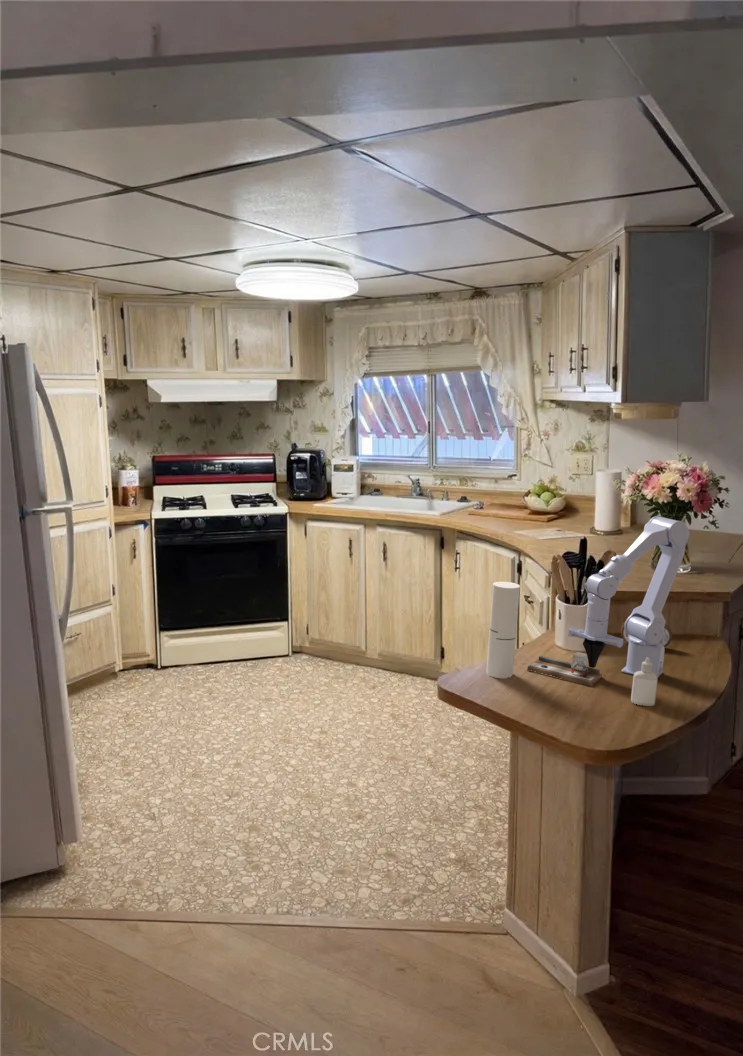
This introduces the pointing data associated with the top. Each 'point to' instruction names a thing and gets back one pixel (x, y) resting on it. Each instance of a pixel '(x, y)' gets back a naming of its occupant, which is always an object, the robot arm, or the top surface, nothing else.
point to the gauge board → (565, 671)
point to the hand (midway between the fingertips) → (592, 666)
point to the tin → (663, 642)
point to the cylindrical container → (502, 629)
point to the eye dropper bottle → (644, 685)
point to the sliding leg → (579, 661)
